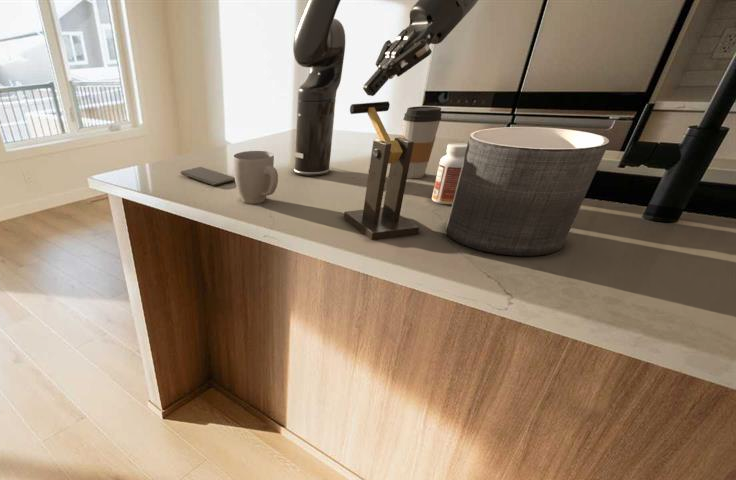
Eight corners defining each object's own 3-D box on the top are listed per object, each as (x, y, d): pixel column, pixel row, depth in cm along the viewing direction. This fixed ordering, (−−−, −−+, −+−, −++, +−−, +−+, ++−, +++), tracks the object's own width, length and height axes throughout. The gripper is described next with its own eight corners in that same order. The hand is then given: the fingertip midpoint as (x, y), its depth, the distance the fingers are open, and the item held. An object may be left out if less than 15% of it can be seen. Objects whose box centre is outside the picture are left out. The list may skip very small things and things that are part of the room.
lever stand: (343, 218, 84) (352, 137, 76) (385, 213, 85) (399, 132, 77) (371, 239, 75) (385, 149, 66) (418, 234, 76) (438, 144, 67)
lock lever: (348, 112, 78) (352, 100, 76) (383, 109, 79) (388, 97, 77) (372, 165, 73) (377, 153, 70) (410, 161, 73) (416, 150, 71)
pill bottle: (469, 201, 89) (485, 144, 83) (451, 207, 86) (467, 149, 80) (442, 194, 93) (455, 140, 87) (424, 200, 91) (437, 144, 84)
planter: (423, 226, 78) (445, 133, 69) (502, 213, 82) (532, 123, 73) (499, 264, 64) (539, 154, 55) (590, 247, 68) (642, 140, 59)
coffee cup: (433, 178, 104) (449, 109, 95) (399, 180, 104) (412, 111, 95) (421, 170, 110) (435, 105, 102) (389, 171, 111) (400, 107, 102)
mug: (226, 199, 98) (224, 155, 92) (256, 192, 102) (256, 148, 96) (260, 212, 90) (260, 164, 84) (290, 203, 94) (292, 156, 88)
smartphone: (213, 183, 106) (179, 171, 117) (213, 187, 107) (179, 175, 117) (236, 177, 110) (201, 166, 120) (236, 181, 111) (201, 170, 121)
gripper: (414, -14, 74) (339, 74, 79) (462, -24, 63) (373, 77, 69) (434, 23, 77) (362, 104, 83) (483, 18, 67) (397, 112, 72)
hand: (367, 92), depth 76 cm, fingers closed
